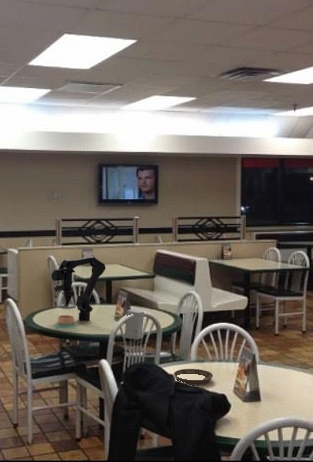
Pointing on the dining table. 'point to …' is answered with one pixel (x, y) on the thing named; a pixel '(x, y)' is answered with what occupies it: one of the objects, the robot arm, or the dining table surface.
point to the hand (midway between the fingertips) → (66, 304)
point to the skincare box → (134, 325)
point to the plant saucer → (194, 371)
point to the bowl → (65, 319)
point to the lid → (66, 305)
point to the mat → (64, 326)
